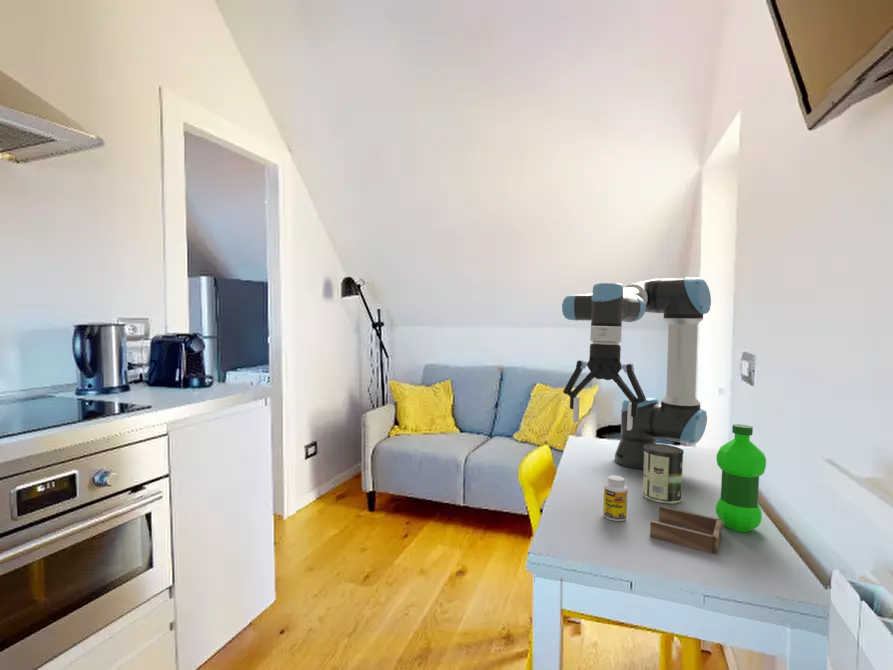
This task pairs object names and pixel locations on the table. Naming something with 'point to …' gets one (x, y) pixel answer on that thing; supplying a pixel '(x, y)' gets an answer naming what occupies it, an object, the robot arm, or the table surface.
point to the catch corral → (686, 535)
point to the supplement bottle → (615, 498)
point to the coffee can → (662, 473)
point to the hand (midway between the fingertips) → (601, 425)
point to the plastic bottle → (740, 481)
